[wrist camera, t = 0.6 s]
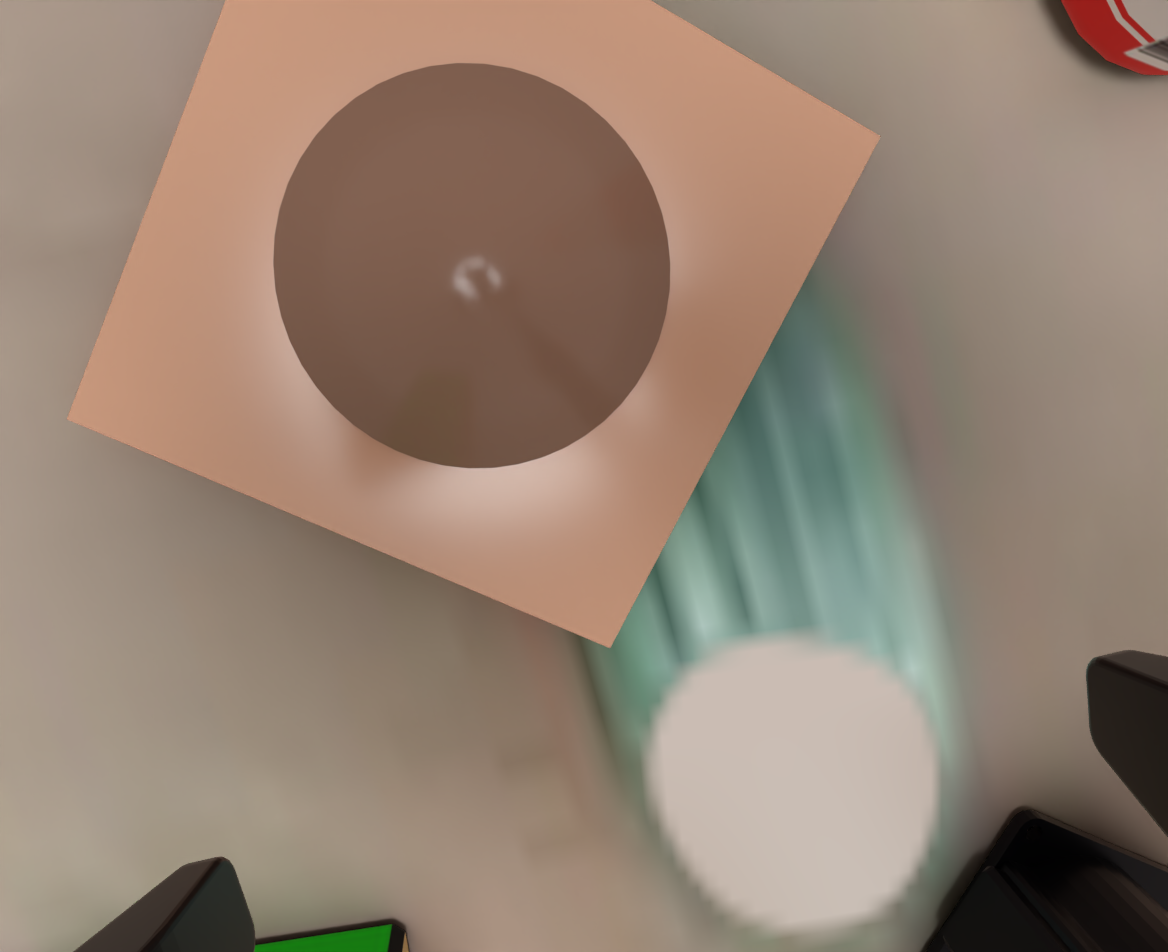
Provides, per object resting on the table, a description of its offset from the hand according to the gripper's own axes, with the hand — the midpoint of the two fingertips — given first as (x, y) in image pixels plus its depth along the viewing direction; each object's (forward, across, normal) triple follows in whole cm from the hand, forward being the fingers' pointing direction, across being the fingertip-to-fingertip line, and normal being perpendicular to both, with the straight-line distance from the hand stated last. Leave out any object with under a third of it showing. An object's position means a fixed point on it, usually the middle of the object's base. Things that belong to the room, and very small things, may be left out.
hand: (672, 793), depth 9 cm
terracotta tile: (+13, +1, -6) cm, 14 cm away
